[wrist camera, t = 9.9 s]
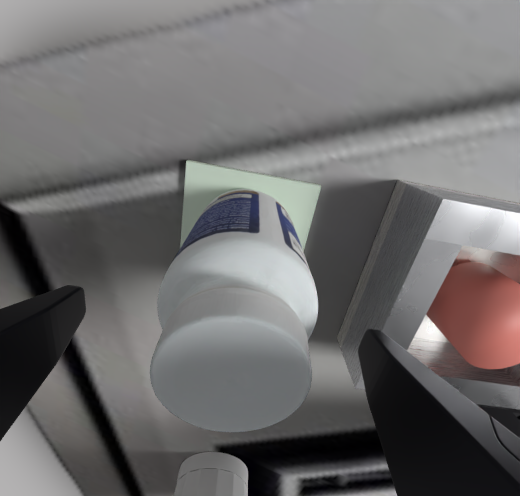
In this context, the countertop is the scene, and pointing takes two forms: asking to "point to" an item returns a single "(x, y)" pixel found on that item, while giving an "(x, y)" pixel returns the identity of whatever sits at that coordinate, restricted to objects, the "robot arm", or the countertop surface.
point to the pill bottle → (236, 318)
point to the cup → (212, 476)
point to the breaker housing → (433, 282)
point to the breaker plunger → (479, 315)
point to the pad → (227, 179)
